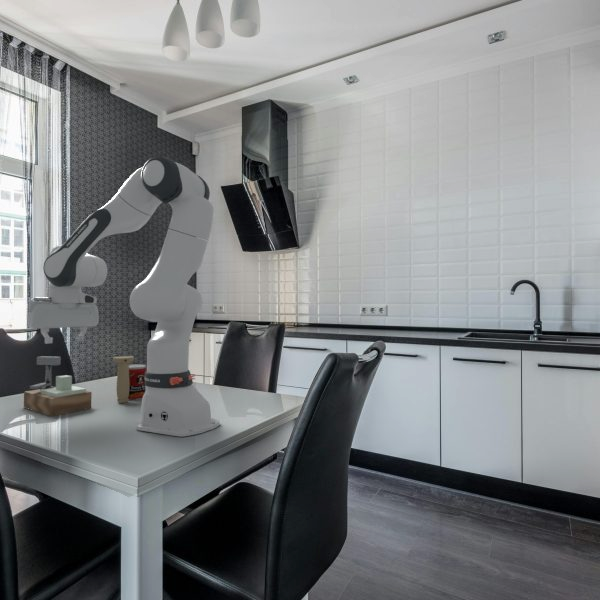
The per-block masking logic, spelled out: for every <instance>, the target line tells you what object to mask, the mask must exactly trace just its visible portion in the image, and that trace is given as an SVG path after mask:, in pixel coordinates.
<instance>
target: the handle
mask: <svg viewBox="0 0 600 600" xmlns="http://www.w3.org/2000/svg"><path fill="white" fill-rule="evenodd" d="M134 360H135V357H134V355H131V356H130V355H129V356H128V355H127V356H126V355H125V356H116V357H115V356H114V357H112V362H113V363H115V364H117V375H116V376H117V377H116V397H117V398H116V400H117V403H118V404H126V403H128V402H129V400H130V399H129V398H128V396H129V388H130V387H129V386H130V385H129V384H130V383H129V365H130V364H131V363H132V362H134Z"/></svg>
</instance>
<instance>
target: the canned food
mask: <svg viewBox="0 0 600 600" xmlns="http://www.w3.org/2000/svg"><path fill="white" fill-rule="evenodd" d="M146 371H147V364H139V363H138V364H136V363H135V364H134V363H133V364H129V383H130V384H129V385H130V386H129V387H130V388H129V396H128V398H129V399H128V400H140V398H141V399H142V398H143V395H144V393H145V390H146V385H145V372H146Z"/></svg>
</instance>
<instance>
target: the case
mask: <svg viewBox="0 0 600 600" xmlns="http://www.w3.org/2000/svg"><path fill="white" fill-rule="evenodd" d="M54 388H56V386H54ZM41 390H42V388H38V389H32V390H26V391H23V408H24V407H25V408H24V409H26V408H29V409H28V410H30V409H32V410H31V411H33V410H35V411H34V412H36V411H38V412H37V413H39V412H41V413H40V414H43V415H46V414H47V415H48V416H49V415H50V416H49V417H53V416H58V415H63V414H64V415H65V414H67V413H73V412H77V411H83V410H87V409H91V408H92V391H90V390H86V393H80V394H74V395H69V396H63V397H57V398H55V397H51V396H47V395H43V394H41ZM47 415H46V416H47Z"/></svg>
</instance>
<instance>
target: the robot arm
mask: <svg viewBox="0 0 600 600" xmlns="http://www.w3.org/2000/svg"><path fill="white" fill-rule="evenodd" d="M210 195H211V194H210V187H209V186H208V183H207V182H206V181H205V179H203V178H202V177H201V176H199V174H196V173H195V172H193V171H192V170H190V169H189V168H188V167H187V166H185V165H183V164H181V163H178V162H176V161H174V160H173V159H171V158H169V157H165V156H159V155H156V156H152V157H150V158H149V159H148V160H147V161H146V162H145V163H144V165H143V166H142V167H140V168H138V169H136V170H135V171H134V172H132V174H131V175H130V176H129V178H127V179H126V180H125V181H124V183H123V184H122V186H121V187H120V188H119V189H118V191H117V193H115V195H114V196H113V197H112V198H111V199H110V200H109V201H108V202H107V203H106V204H104V205H103V206H101V207H100V208H98V209H96V210H95V211H93V212H91V214H89V215H88V217H86V218H85V219H84V220H83V221H82V222H81V224H80V225H79V226H78V227H77V228H76V229H75V231H73V233H72V234H71V235H70V236H69V237H68V238H67V239H66V240H65V241H64V243H63V244H60V245H56V246H55V247H53V248H52V249H51V251H50V254H48V256H47V257H46V259H45V260H44V263H43V266H42V267H43V273H44V276H45V278H46V279H47V281H49V285H48V297H46V296H45V297H40V296H39V297H38V296H36V297H33V298H32V299H30V300H28V304H27V308H28V315H27V323H26V324H27V327H28V328H29V329H32V330H39V329H40V334H41V335H42V336H43V338H44V344H45V345H47V344H49V345H50V344H53V343H54V341H53V340H54V337H52V336H51V337H50V335H49V333H50V329H59V328H60V329H61V328H63V329H64V328H65V329H66V328H67V329H68V328H79V333H78V335H76V336H75V337H76V338H75V341H76V342H83V341H84V336H85V335H86V333H87V331H88V327H97V326H98V324H99V321H100V320H99V319H100V318H99V307H98V306H97V305H96V304H97V302H98V299H97V297H96V296H94V295H90V294H87V293H85V292H82V287H83V288H85V287H87V288H88V287H89V288H95V287H100V286H102V285H103V284H104V283H106V281H107V280H108V276H109V267H108V264H107V262H106V260H104V259H103V258H101V257H99V256H96V255H92V254H91V253H89V252H90V250H91V249H92V248H94V246H95V245H96V244H97V243H98V242H99V241H100V240H102V239H104V238H105V237H108V236H109V237H110V236H113V235H118V234H126V233H127V234H128V233H133V232H136V231H139V230H140V229H141V228H142V227H144V226H145V225H146V224H147V223H148V222H149V220H150V219H151V217H152V216H153V215H154V213H155V212H156V210H157V208H158V207H159V206H160V205H161V204H162V203H163V204H169V205H170V208H171V209H172V210H171V212H172V215H171V218H170V222H169V225H168V229H167V232H166V236H165V238H164V242H163V245H162V248H161V250H160V253H159V254H160V255H159V256H158V259H156V262H155V264H154V265H153V267H152V269H151V270H150V272H149V273H148V274H147V275H146V278H144V279H143V280H142V281H141V282H140V283H139V284H137V285H136V286H135V287H134V288H133V289H132V291H131V293H130V295H129V307H130V309H131V312H132V313H133V314H134V315H135V316H136V317H137V318H139V319H142V320H145V321H147V322H148V321H149V322H152V323H157V324H156V327H155V330H154V333H153V334H152V337H151V338H150V339H149V340H148V342H147V345H146V347H147V348H146V372H145V385H146V390H145V393H144V395H143V398H141V407H140V416H139V423H137V425H136V431H141V432H146V433H147V432H149V433H153V434H161V435H166V436H173V437H174V436H175V437H189V436H194V435H199V434H202V433H206V432H208V431H209V432H210V431H212V430H214V429H215V428H217V427H218V426H220V424H221V423H220V420H218V419H216V418H213V417H212V412H211V411H212V410H211V405H210V402H209V401H208V400H207V399H206V398H205V397H204V396H203V395H202V394H201V393H200V391H199V390H198V389H197V388H196V387H195V386H194V385H193V384H194V382H193V380H196V378H195V377H196V374H191V370H189V361H190V359H189V357H190V355H189V354H190V349H189V348H190V341H191V335H192V331H193V328H194V327H193V326H194V323H195V320H196V317H197V315H198V314H199V312H200V311H201V310H202V306H203V297H202V295H201V293H200V292H199V290H198V289H197V288H195V287H193V286H191V285H189V284H188V282H189V281H190V279H191V278H192V277H193V275H194V274H195V273H196V272H198V271H199V270H200V267H201V266H202V262H203V259H204V256H205V253H206V249H207V246H208V243H209V239H210V234H211V230H212V225H213V220H214V207H213V205H212V203H211V202H210Z"/></svg>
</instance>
